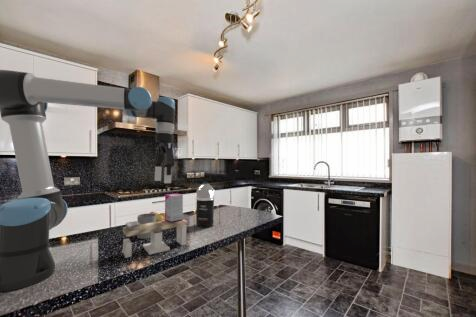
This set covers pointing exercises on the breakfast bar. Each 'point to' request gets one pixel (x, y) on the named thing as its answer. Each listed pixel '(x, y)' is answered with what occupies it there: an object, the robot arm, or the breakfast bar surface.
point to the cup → (144, 220)
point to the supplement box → (173, 207)
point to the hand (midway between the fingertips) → (162, 181)
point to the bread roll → (159, 216)
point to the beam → (150, 227)
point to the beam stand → (155, 242)
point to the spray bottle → (205, 205)
